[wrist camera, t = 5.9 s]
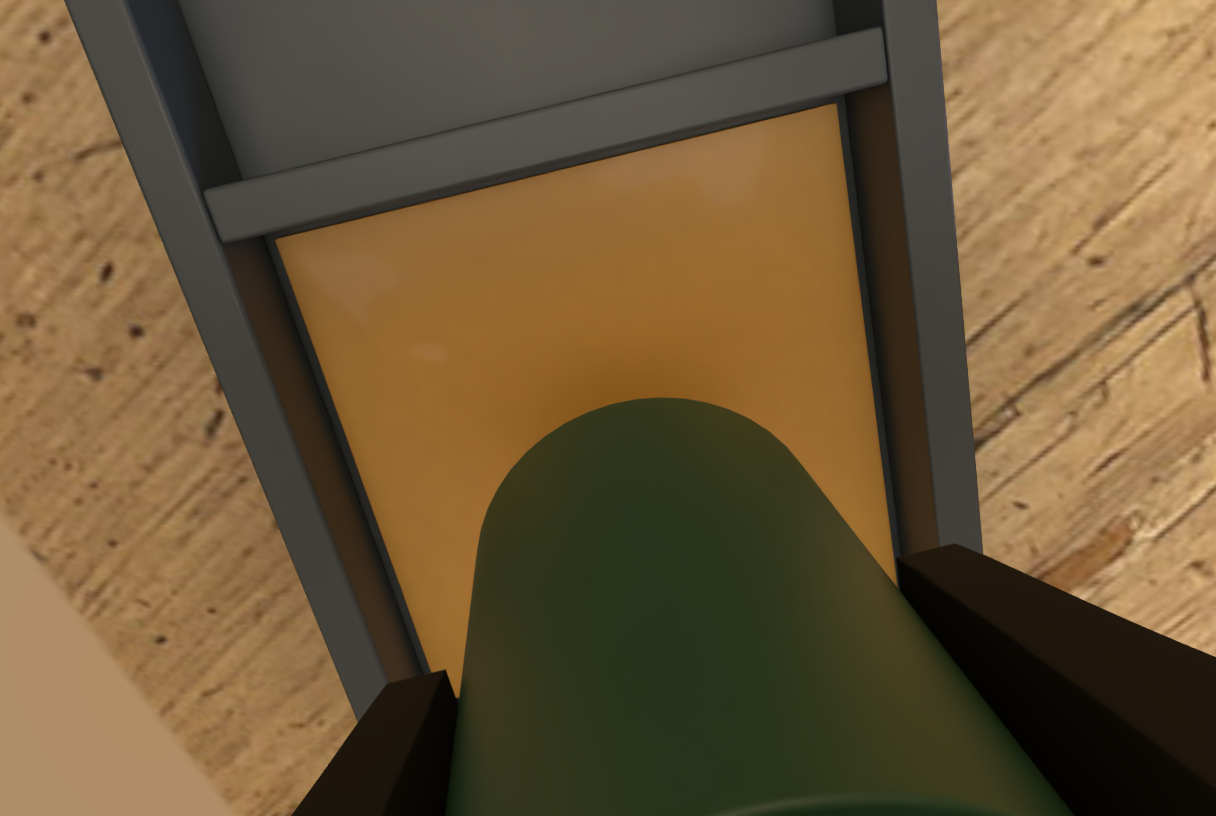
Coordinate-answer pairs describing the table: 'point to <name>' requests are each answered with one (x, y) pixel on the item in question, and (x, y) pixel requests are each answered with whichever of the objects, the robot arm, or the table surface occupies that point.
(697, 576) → the bottle
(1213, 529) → the table surface
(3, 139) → the table surface
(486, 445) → the tray
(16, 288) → the table surface
